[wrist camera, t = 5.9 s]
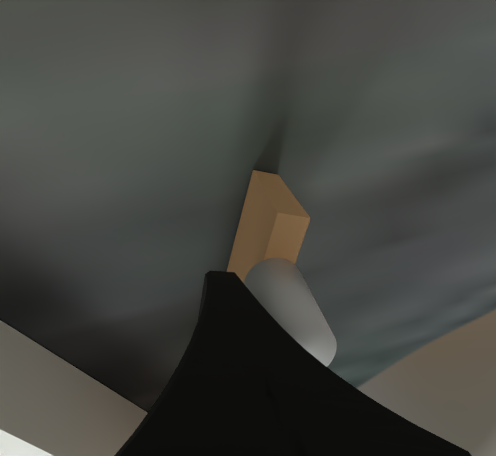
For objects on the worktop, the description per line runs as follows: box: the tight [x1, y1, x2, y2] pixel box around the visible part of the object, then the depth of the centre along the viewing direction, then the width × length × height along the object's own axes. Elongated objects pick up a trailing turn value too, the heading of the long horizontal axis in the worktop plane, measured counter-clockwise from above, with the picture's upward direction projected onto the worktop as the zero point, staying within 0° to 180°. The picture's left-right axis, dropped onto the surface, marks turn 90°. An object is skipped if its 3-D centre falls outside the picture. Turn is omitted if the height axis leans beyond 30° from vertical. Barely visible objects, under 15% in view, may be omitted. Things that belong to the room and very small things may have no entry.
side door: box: [226, 170, 337, 367], centre depth 14 cm, size 14×2×7 cm, turn 166°
